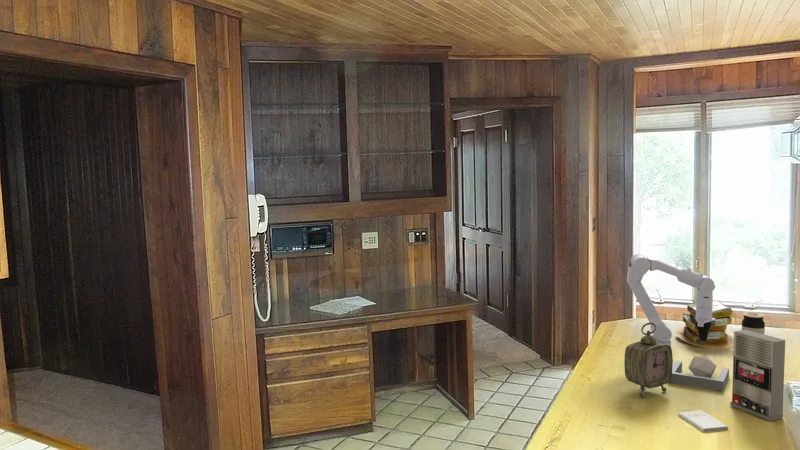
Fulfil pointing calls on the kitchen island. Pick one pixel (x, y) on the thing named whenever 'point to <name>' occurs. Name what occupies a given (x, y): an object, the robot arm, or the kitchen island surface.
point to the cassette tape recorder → (758, 374)
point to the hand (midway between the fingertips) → (703, 340)
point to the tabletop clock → (648, 362)
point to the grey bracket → (699, 378)
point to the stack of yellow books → (717, 331)
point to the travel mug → (753, 322)
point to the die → (702, 366)
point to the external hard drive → (703, 421)
